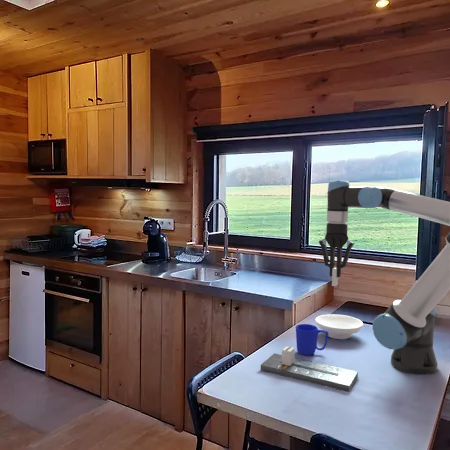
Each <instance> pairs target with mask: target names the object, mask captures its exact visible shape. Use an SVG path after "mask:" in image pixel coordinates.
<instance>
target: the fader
mask: <svg viewBox="0 0 450 450" xmlns="http://www.w3.org/2000/svg"><path fill="white" fill-rule="evenodd" d="M295 350H296V349H295V347H292V346H289V345H287V346H285V347H284V348H283V349H282V350H281V355H282V364H284V365H288V366H290V365H291V364H292V363H293V362H294V358H295Z"/></svg>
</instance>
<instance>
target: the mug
mask: <svg viewBox="0 0 450 450" xmlns="http://www.w3.org/2000/svg"><path fill="white" fill-rule="evenodd" d="M320 333H324V334H325V341H324V344H323V346H322V347H320V348H319V347H318V345H317V344H318V338H319V337H318V336H319V334H320ZM328 337H329V336H328V331H325V330H322V329H319V327H318V326H317V325H313V324H309V323H302V324H301V323H300V324H297V325H296V326H295V338H296V339H295V340H296V341H295V342H296V351H297V353H298V354H299V355H303V356H313V355H314V354H315V353H316V350H318V351H324V350H325V348H326V347H327V344H328Z"/></svg>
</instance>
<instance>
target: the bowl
mask: <svg viewBox="0 0 450 450" xmlns="http://www.w3.org/2000/svg"><path fill="white" fill-rule="evenodd" d="M315 323H316V326H317V328H318V329H319V330H325V331H328V337H329V338H331V339H335V340H336V339H337V340H347V339H349V338H351V337H352V335H353V334H357V333H358V332H360V331H361V329H362V328H363V325H364V323H363V321H362V320H360V319H359V318H356V317H353V316H351V315H350V316H349V315H344V314H333V313H331V314H322V315H318V316H317V317H315Z"/></svg>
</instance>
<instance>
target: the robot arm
mask: <svg viewBox="0 0 450 450" xmlns="http://www.w3.org/2000/svg"><path fill="white" fill-rule="evenodd" d="M349 208H357V209H358V208H360V209H361V208H362V209H375V208H382V209H385V210H389V211H393V212H397V213H402V214H404V215H409V216H412V217H415V218H420V219H423V220H427V221H431V222H434V223H437V224H438V223H439V224H441V225H446V226H449V227H450V201H447V200H442V199H438V198H435V197H429V196H425V195H421V194H418V193H417V194H416V193H413V192H408V191H403V190H398V189H395V188H393V187H390V186H385V185H384V186H372V185H362V186H361V185H359V186H358V185H357V186H352V185H350V182H349V181H348V180H330V181H329V182H328V186H327V209H326V222H327V223H326V230H325V232H326V233H325V236H324V238H322V239H319V241H318V243H319V245H320V247H321V251H322V253H321V254H322V255H323V256H322V257H323V261H324V265H325V266H326V267H329V277H331V286H332V287H337V286H338V285H339V278H340V277H341V276H342V268H345V267H347V265H348V262H349V257H350V255H351V252H352V251H351V250H352V249H353V247H354V245H355V242H354V241H351V240H350V239H349V236H348V221H349V220H348V219H349ZM445 242H446V245H445V246H444V248H442V249H441V251H439V253H438V255H436V257H435V258H434V260H433V261H432V262H431V263H430V265H428V267H427V268H426V269H425V271H424V272H423V273H422V275H420V276H419V277H418V279H417V280H416V282H414V284H413V285H412V287H411V288H410V289H409V290H408V291H407V292H406V294H405V295H404V296H403V298H402V299H396V300H394V301H393V302H392V303H391V305H390V306H388V308H387V309H386V310H385V312H384V313H380V314H378V315H377V316H376V317H375V318H374V319H373V323H372V330H373V331H372V332H373V336H374V337H375V339H376V340H377V342H378V343H379V344H380V345H381V346H382V347H384V348H386V349H388V350H393V351H392V354H391V356H390V365H391V366H393V367H394V368H395V369H397V370H398V371H402V372H405V373H409V374H414V375H426V376H427V375H432V374H435V373H437V371H438V366H439V365H438V360H437V358H436V354H435V351H434V350H435V349H434V334H435V321H436V318H435V317H436V309H435V307H436V306H437V305H438V304H439V302H440V301H441V300H442V299H443V298H444V297H445V295H447V293H449V291H450V231H449V232H448V234H447V235H446V236H445ZM327 244H328V246H329V252H328V248H327ZM345 245H346V249H345V252H344V255H343V247H344V246H345ZM328 253H329V254H328ZM342 257H343V258H342ZM335 260H336V261H335ZM335 262H336V265H335ZM335 266H336V267H335Z"/></svg>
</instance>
